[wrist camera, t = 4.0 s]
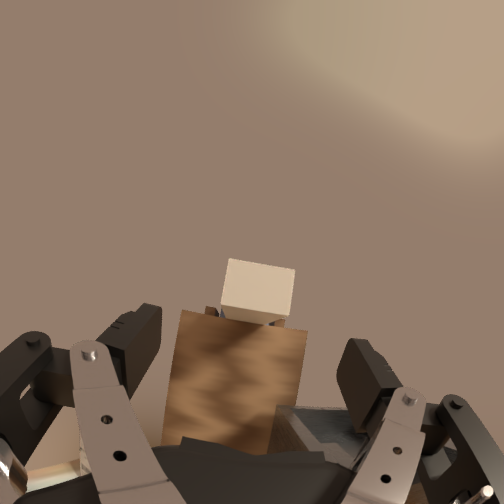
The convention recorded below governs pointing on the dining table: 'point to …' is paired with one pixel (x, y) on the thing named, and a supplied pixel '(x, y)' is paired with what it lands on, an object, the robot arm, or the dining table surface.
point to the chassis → (330, 438)
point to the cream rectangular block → (256, 292)
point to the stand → (230, 380)
